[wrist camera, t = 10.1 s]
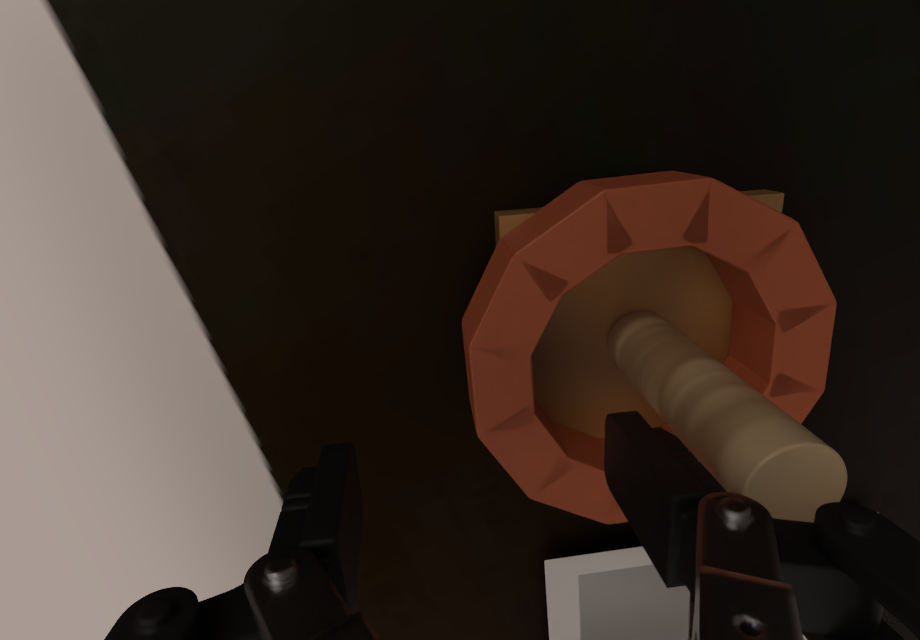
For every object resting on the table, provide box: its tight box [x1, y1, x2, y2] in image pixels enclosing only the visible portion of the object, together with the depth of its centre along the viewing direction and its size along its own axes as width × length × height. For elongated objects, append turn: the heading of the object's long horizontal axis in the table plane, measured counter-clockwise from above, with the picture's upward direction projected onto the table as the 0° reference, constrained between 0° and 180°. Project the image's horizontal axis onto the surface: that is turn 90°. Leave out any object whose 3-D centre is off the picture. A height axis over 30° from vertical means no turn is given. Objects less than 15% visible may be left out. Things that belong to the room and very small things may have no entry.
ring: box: [462, 171, 837, 524], centre depth 19 cm, size 12×12×3 cm
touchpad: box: [544, 512, 879, 640], centre depth 25 cm, size 8×15×2 cm, turn 96°
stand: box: [494, 189, 847, 522], centre depth 17 cm, size 10×10×10 cm
